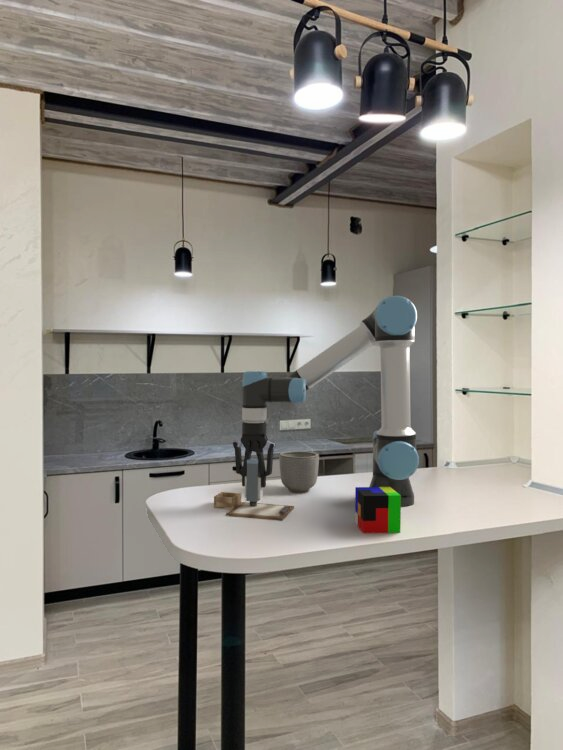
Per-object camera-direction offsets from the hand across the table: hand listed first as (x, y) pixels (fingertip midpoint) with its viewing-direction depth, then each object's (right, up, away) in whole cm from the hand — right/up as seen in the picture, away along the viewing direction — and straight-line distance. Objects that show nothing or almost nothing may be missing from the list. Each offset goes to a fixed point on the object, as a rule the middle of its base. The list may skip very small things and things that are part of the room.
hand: (253, 497), depth 169 cm
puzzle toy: (+35, -4, -19) cm, 40 cm away
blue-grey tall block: (0, -2, 0) cm, 2 cm away
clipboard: (+2, -3, -4) cm, 6 cm away
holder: (-8, -3, +2) cm, 9 cm away
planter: (+15, -3, +23) cm, 28 cm away
